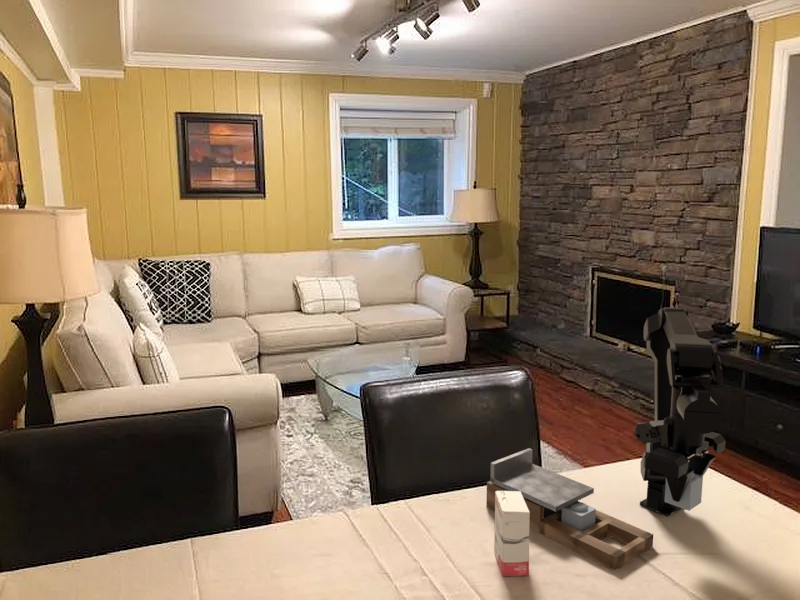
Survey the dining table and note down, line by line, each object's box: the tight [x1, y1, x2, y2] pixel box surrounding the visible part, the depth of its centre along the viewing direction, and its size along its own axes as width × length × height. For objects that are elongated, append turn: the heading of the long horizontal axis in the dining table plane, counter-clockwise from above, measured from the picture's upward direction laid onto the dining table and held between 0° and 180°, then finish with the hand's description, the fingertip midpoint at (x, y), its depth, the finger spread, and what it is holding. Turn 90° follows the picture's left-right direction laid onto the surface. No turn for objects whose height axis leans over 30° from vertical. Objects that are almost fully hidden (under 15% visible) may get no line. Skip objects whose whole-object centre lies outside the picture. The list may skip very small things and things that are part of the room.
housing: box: [485, 480, 654, 571], centre depth 129 cm, size 12×31×5 cm, turn 39°
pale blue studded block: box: [561, 500, 597, 532], centre depth 126 cm, size 4×4×6 cm
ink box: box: [493, 491, 530, 577], centre depth 115 cm, size 9×5×12 cm, turn 1°
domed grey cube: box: [665, 473, 704, 511], centre depth 117 cm, size 4×4×6 cm
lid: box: [489, 447, 595, 513], centre depth 132 cm, size 12×17×4 cm
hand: (682, 496), depth 117 cm, fingers closed on domed grey cube, 4 cm apart
